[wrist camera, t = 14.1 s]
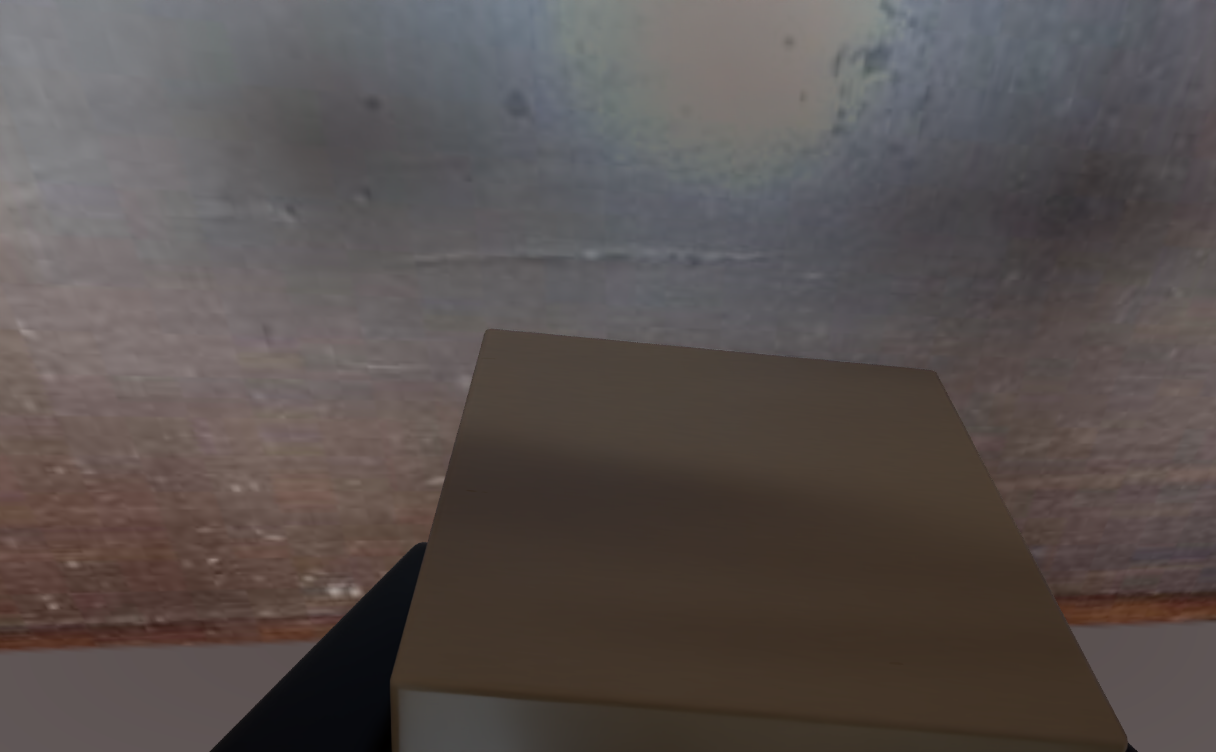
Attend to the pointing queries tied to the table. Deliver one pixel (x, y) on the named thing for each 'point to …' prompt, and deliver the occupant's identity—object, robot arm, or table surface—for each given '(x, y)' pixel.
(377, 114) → the table surface
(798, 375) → the maple block
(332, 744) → the robot arm
